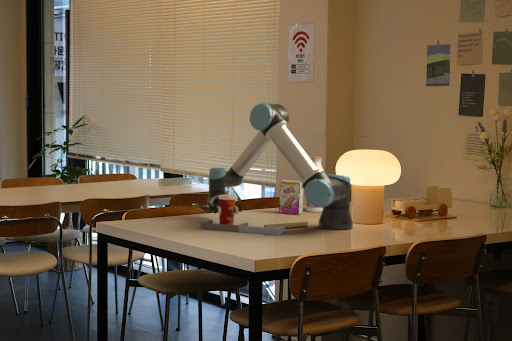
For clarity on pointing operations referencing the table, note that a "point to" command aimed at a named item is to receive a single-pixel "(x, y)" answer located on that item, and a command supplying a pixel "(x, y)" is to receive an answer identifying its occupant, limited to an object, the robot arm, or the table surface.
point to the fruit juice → (308, 206)
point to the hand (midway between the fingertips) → (228, 211)
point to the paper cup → (227, 209)
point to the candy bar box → (291, 197)
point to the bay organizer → (242, 228)
